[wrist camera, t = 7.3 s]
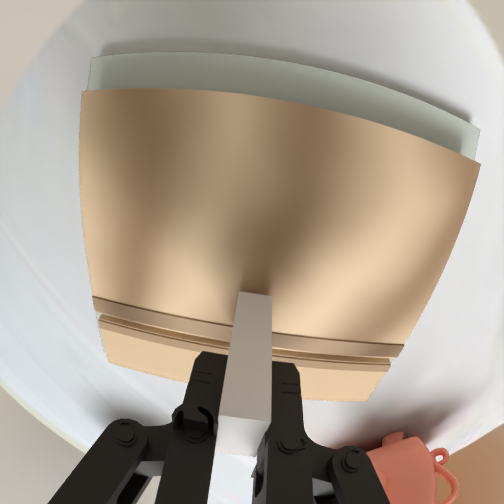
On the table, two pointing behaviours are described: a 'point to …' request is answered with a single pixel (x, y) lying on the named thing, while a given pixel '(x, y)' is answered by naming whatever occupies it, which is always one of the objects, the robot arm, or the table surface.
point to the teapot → (410, 470)
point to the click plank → (264, 217)
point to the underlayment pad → (283, 88)
